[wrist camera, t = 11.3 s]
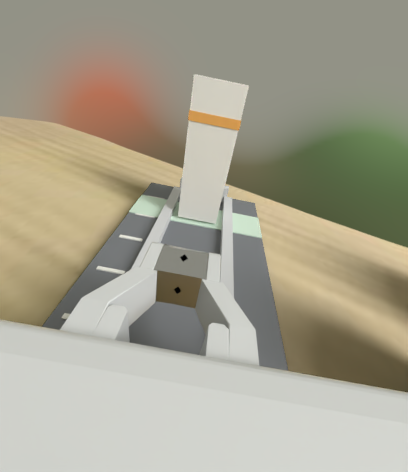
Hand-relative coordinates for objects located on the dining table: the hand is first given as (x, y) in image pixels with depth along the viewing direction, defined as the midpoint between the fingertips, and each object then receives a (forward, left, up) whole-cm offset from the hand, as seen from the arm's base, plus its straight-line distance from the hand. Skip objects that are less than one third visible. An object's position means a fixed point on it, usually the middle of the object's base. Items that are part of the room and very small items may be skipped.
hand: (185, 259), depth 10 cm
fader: (-6, +12, -6) cm, 15 cm away
